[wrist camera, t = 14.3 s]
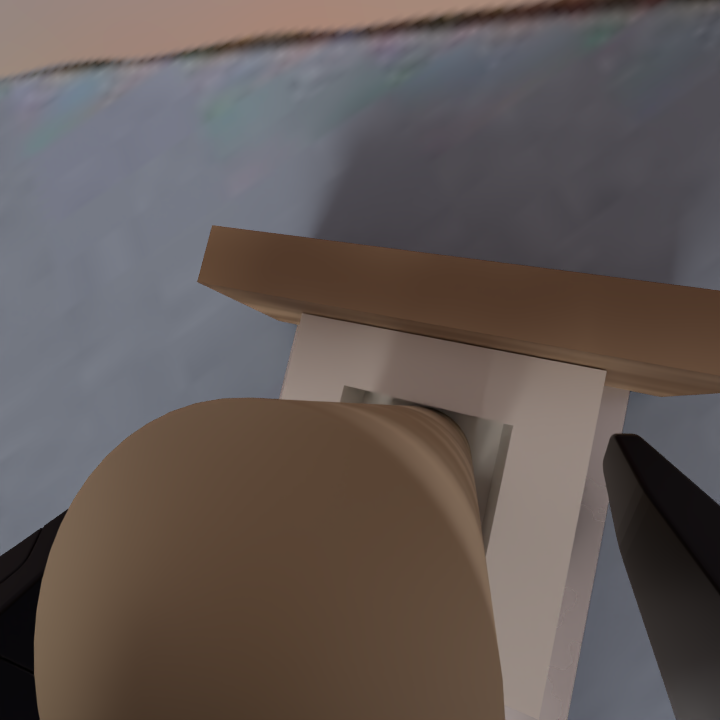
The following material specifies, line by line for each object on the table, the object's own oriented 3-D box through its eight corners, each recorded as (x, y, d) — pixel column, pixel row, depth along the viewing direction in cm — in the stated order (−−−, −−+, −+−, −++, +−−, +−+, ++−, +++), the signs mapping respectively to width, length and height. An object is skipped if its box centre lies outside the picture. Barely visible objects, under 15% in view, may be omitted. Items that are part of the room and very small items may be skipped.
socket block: (520, 641, 14) (538, 719, 11) (283, 550, 17) (234, 588, 14) (572, 380, 15) (606, 371, 11) (335, 332, 18) (302, 313, 14)
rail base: (568, 847, 14) (655, 1212, 8) (200, 660, 18) (61, 792, 12) (662, 346, 15) (806, 301, 9) (294, 285, 20) (212, 225, 13)
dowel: (491, 443, 15) (632, 624, 2) (436, 530, 15) (296, 1137, 3) (403, 387, 16) (184, 313, 4) (352, 469, 16) (-33, 679, 4)
